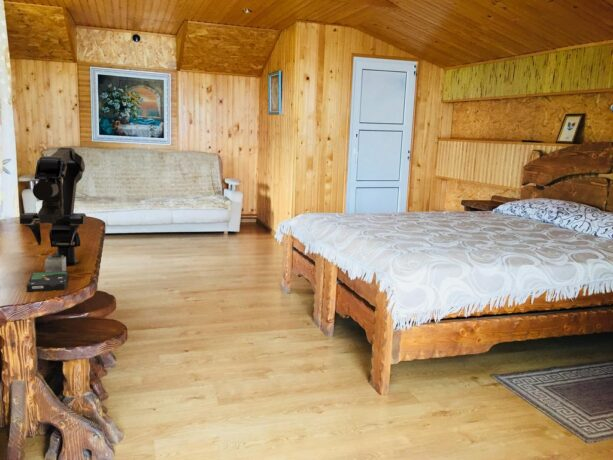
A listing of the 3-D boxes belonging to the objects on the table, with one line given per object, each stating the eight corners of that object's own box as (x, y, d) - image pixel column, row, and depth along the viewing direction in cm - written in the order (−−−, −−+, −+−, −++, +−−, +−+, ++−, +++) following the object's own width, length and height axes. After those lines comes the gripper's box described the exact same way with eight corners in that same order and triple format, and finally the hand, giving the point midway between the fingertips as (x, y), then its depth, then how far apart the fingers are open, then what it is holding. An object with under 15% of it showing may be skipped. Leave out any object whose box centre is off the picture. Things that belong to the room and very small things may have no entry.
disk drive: (66, 292, 157) (68, 278, 171) (66, 282, 157) (68, 269, 170) (26, 294, 154) (32, 280, 167) (26, 285, 153) (31, 271, 167)
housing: (50, 271, 177) (49, 252, 176) (66, 271, 178) (65, 252, 177) (45, 275, 173) (44, 255, 172) (62, 274, 173) (61, 255, 172)
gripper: (12, 199, 162) (14, 250, 165) (78, 200, 165) (79, 250, 168) (24, 195, 173) (27, 243, 175) (86, 196, 176) (87, 243, 179)
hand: (55, 245), depth 174 cm, fingers open, 9 cm apart
